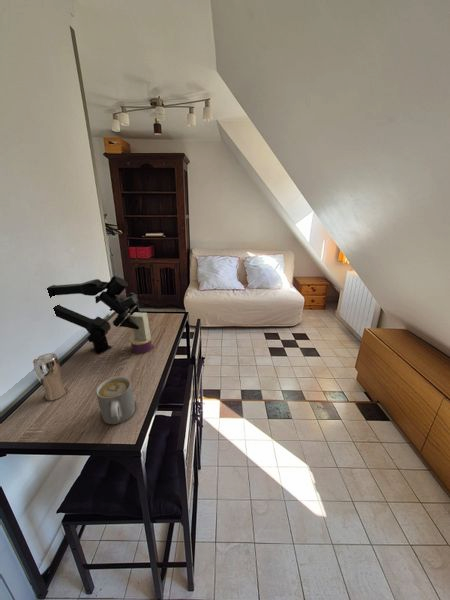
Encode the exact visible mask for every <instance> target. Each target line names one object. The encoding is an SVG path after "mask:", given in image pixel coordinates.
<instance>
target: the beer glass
mask: <svg viewBox="0 0 450 600" xmlns="http://www.w3.org/2000/svg"><path fill="white" fill-rule="evenodd" d="M32 364H33V368H34V372H35V373H34V374H35V375H36V378H37V380H38V381H39V383H40V385H41V386H42V388H43V390H44V399H45V400H47V401H55V400H57V399H60V398H62V397H63V396H64V395H65V394H66V392H67V391H66V388H65V387H64V385H63V381H62V368H61V364H60V362H59V359H58V356H57V354H56V353H53V352H50V353H49V352H48V353H44V354H41V355H39V356H37V357H35V358H34V359H33V360H32Z"/></svg>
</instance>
